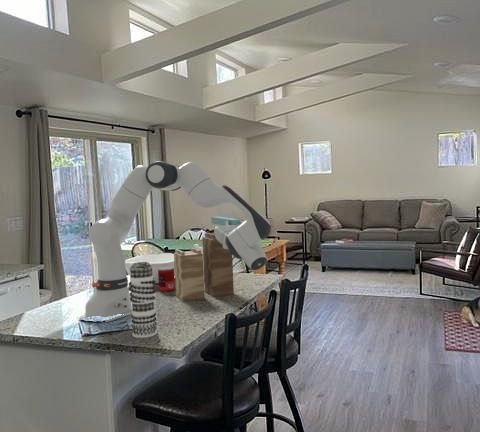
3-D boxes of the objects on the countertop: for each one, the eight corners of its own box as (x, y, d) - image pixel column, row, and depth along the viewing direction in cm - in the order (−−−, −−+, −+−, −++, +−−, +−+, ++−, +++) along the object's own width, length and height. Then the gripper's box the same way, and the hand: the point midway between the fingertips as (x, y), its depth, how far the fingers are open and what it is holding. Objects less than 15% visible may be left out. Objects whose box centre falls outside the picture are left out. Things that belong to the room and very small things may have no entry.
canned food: (176, 288, 250) (175, 266, 249) (172, 291, 242) (171, 269, 241) (161, 288, 251) (160, 266, 250) (157, 292, 243) (156, 269, 242)
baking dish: (146, 274, 290) (145, 252, 290) (192, 275, 282) (191, 253, 281) (114, 287, 258) (113, 262, 257) (165, 288, 249) (164, 263, 249)
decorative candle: (160, 329, 181) (156, 260, 179) (154, 337, 172) (151, 265, 170) (135, 330, 181) (131, 261, 179) (128, 338, 172) (124, 265, 170)
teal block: (240, 226, 211) (239, 219, 211) (232, 227, 210) (232, 220, 210) (218, 222, 235) (218, 216, 235) (211, 223, 234) (211, 216, 234)
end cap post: (233, 294, 232) (231, 233, 230) (213, 296, 228) (210, 235, 226) (224, 289, 243) (222, 231, 241) (204, 291, 239) (202, 233, 237)
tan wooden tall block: (204, 298, 227) (202, 250, 225) (183, 300, 223) (180, 252, 221) (196, 292, 238) (194, 247, 236) (175, 295, 234) (173, 249, 232)
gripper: (268, 231, 206) (255, 213, 217) (222, 236, 198) (211, 217, 209) (266, 244, 210) (253, 225, 220) (219, 249, 202) (209, 229, 212)
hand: (232, 221), depth 214 cm, fingers closed on teal block, 3 cm apart
